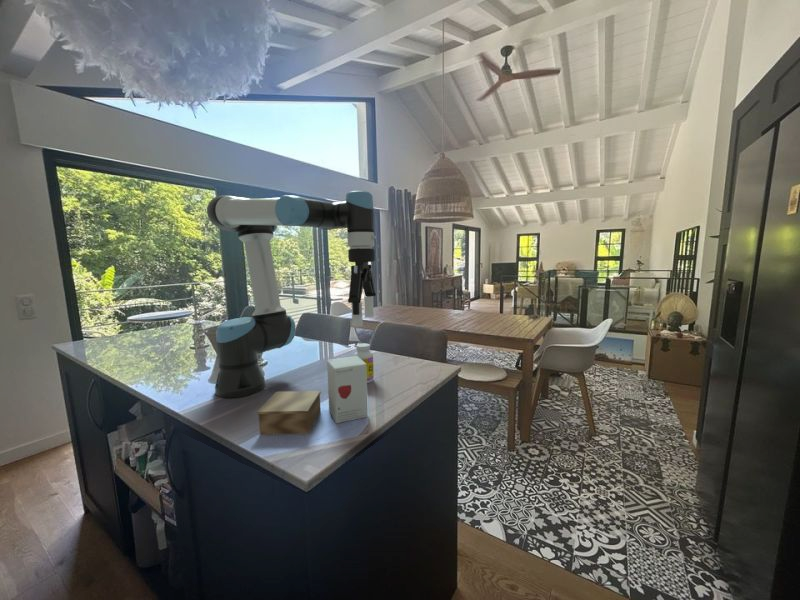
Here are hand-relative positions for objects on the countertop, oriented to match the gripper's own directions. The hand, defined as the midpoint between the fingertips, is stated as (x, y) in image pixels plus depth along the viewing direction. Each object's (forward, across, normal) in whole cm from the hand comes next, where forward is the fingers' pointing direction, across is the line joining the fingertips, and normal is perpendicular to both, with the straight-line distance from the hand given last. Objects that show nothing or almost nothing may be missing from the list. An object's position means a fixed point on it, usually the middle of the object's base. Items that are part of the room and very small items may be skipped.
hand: (363, 321), depth 99 cm
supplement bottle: (+24, +16, +5) cm, 30 cm away
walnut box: (+24, -16, +16) cm, 33 cm away
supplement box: (+24, -9, +3) cm, 26 cm away
